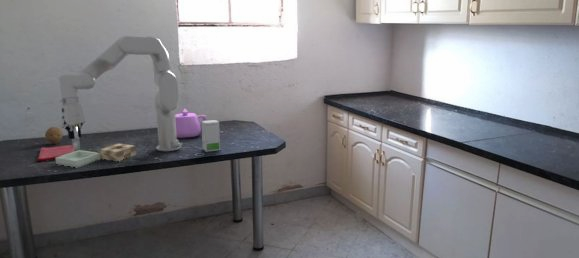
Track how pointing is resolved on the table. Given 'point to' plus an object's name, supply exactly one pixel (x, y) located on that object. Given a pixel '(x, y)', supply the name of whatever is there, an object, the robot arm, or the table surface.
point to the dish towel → (54, 152)
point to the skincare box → (210, 135)
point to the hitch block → (117, 152)
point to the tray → (77, 158)
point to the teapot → (188, 124)
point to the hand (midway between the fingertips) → (75, 137)
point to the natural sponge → (53, 135)
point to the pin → (75, 141)
